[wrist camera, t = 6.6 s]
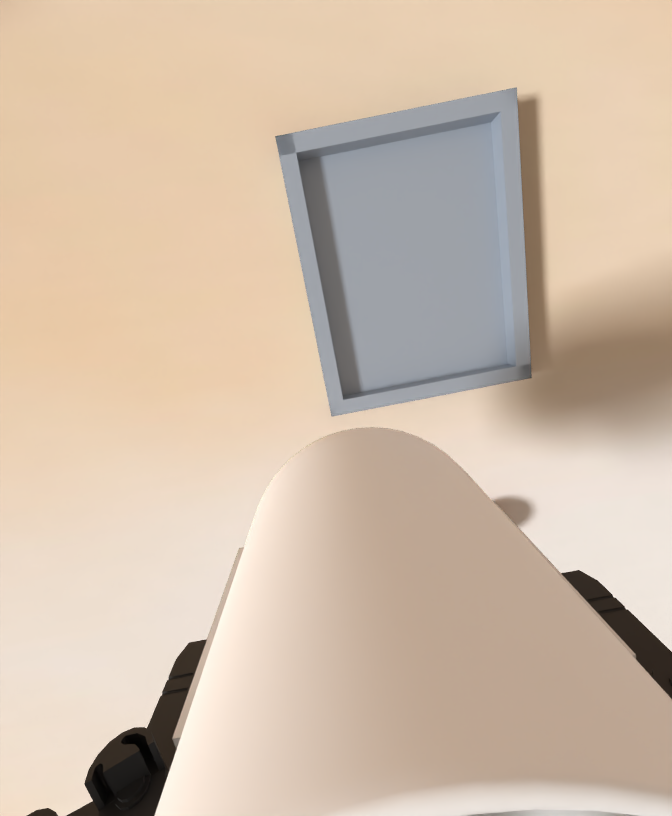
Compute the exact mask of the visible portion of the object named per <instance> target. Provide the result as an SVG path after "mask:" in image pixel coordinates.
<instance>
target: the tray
mask: <svg viewBox="0 0 672 816" xmlns="http://www.w3.org/2000/svg"><path fill="white" fill-rule="evenodd" d="M275 137H276V142H277V147H278V152H279V157H280V162H281V167H282V172H283V177H284V182H285V187H286V192H287V197H288V202H289V207H290V212H291V217H292V222H293V227H294V232H295V237H296V242H297V247H298V252H299V257H300V262H301V267H302V271H303V276H304V281H305V286H306V291H307V296H308V301H309V306H310V311H311V316H312V321H313V326H314V331H315V336H316V341H317V346H318V351H319V356H320V361H321V366H322V371H323V376H324V381H325V386H326V391H327V396H328V401H329V406H330V411H331V416H337V415H342V414H347V413H352V412H358V411H363V410H368V409H373V408H378V407H384V406H389V405H394V404H399V403H404V402H409V401H415V400H420V399H425V398H430V397H435V396H440V395H446V394H451V393H456V392H461V391H466V390H471V389H477V388H482V387H487V386H492V385H497V384H502V383H508V382H513V381H518V380H523V379H528V378H532V377H531V357H530V338H529V318H528V298H527V279H526V259H525V240H524V220H523V201H522V181H521V162H520V142H519V123H518V103H517V88H512V89H507V90H502V91H497V92H492V93H487V94H482V95H477V96H472V97H467V98H462V99H458V100H453V101H448V102H443V103H438V104H433V105H428V106H423V107H418V108H413V109H408V110H403V111H398V112H393V113H388V114H384V115H379V116H374V117H369V118H364V119H359V120H354V121H349V122H344V123H339V124H334V125H329V126H324V127H319V128H314V129H310V130H305V131H300V132H295V133H290V134H285V135H280V136H275Z"/></svg>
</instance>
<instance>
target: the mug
mask: <svg viewBox="0 0 672 816" xmlns="http://www.w3.org/2000/svg"><path fill="white" fill-rule="evenodd" d="M155 816H672V699H671V698H670V697H669V696H668V694H667V693H666V692H665V691H664V690H663V689H662V688H661V687H660V686H659V685H658V683H657V682H656V681H655V680H654V679H653V678H652V677H651V676H650V675H649V673H648V672H647V671H646V670H645V669H644V668H643V667H642V666H641V665H640V664H639V662H638V661H637V660H636V659H635V658H634V657H633V656H632V655H631V654H630V653H629V651H628V650H627V649H626V648H625V647H624V646H623V645H622V644H621V643H620V641H619V640H618V639H617V638H616V637H615V636H614V635H613V634H612V633H611V632H610V630H609V629H608V628H607V627H606V626H605V625H604V624H603V623H602V622H601V621H600V619H599V618H598V617H597V616H596V615H595V614H594V613H593V612H592V611H591V609H590V608H589V607H588V606H587V605H586V604H585V603H584V602H583V601H582V600H581V598H580V597H579V596H578V595H577V594H576V593H575V592H574V591H573V590H572V589H571V587H570V586H569V585H568V584H567V583H566V582H565V581H564V580H563V579H562V577H561V576H560V575H559V574H558V573H557V572H556V571H555V570H554V569H553V568H552V566H551V565H550V564H549V563H548V562H547V561H546V560H545V559H544V558H543V556H542V555H541V554H540V553H539V552H538V551H537V550H536V549H535V548H534V547H533V545H532V544H531V543H530V542H529V541H528V540H527V539H526V538H525V537H524V536H523V534H522V533H521V532H520V531H519V530H518V529H517V528H516V527H515V526H514V524H513V523H512V522H511V521H510V520H509V519H508V518H507V517H506V516H505V515H504V513H503V512H502V511H501V510H500V509H499V508H498V507H497V506H496V505H495V504H494V502H493V501H492V500H491V499H490V498H489V497H488V496H487V495H486V494H485V492H484V491H483V490H482V489H481V488H480V487H479V486H478V485H477V484H476V483H475V481H474V480H473V479H472V478H471V477H470V476H469V475H468V474H467V473H466V472H465V471H464V470H463V469H462V468H461V467H460V466H459V465H458V464H457V463H456V462H455V461H454V460H453V459H452V458H451V457H450V456H448V455H447V454H446V453H445V452H443V451H442V450H440V449H439V448H438V447H436V446H435V445H433V444H431V443H429V442H427V441H425V440H423V439H421V438H419V437H417V436H415V435H412V434H409V433H406V432H403V431H398V430H393V429H388V428H375V427H370V428H355V429H350V430H344V431H340V432H337V433H334V434H331V435H328V436H325V437H323V438H321V439H319V440H317V441H314V442H313V443H311V444H309V445H308V446H306V447H305V448H303V449H301V450H300V451H299V452H298V453H296V454H295V455H294V456H293V457H291V458H290V459H289V460H288V461H287V462H286V464H285V465H284V466H283V467H282V468H281V469H280V470H279V471H278V472H277V474H276V475H275V476H274V478H273V479H272V481H271V482H270V483H269V485H268V487H267V489H266V491H265V493H264V495H263V496H262V499H261V501H260V503H259V505H258V508H257V511H256V514H255V517H254V520H253V522H252V525H251V528H250V531H249V534H248V537H247V540H246V543H245V546H244V549H243V552H242V555H241V558H240V561H239V564H238V567H237V570H236V573H235V576H234V579H233V582H232V585H231V588H230V591H229V594H228V597H227V600H226V603H225V606H224V609H223V612H222V615H221V618H220V621H219V624H218V627H217V630H216V633H215V636H214V639H213V642H212V645H211V648H210V651H209V654H208V657H207V660H206V663H205V666H204V669H203V672H202V675H201V678H200V681H199V684H198V687H197V690H196V693H195V696H194V699H193V702H192V705H191V708H190V711H189V714H188V717H187V720H186V723H185V726H184V729H183V732H182V735H181V738H180V741H179V744H178V747H177V750H176V753H175V756H174V759H173V762H172V765H171V768H170V771H169V774H168V777H167V780H166V783H165V786H164V789H163V792H162V795H161V798H160V801H159V804H158V807H157V810H156V813H155Z"/></svg>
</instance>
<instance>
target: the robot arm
mask: <svg viewBox="0 0 672 816" xmlns="http://www.w3.org/2000/svg"><path fill="white" fill-rule="evenodd" d="M493 502H494V501H493ZM494 504H495V505H496V506H497V507H498V508H499V509H500V510H501V511H502V512H503V513H504V515H505V516H506V517H507V518H508V519H509V520H510V521H511V522H512V523H513V524H514V526H515V527H516V528H517V529H518V530H519V531H520V532H521V533H522V534H523V536H524V537H525V538H526V539H527V540H528V541H529V542H530V543H531V544H532V545H533V547H534V548H535V549H536V550H537V551H538V552H539V553H540V554H541V555H542V556H543V558H544V559H545V560H546V561H547V562H548V563H549V564H550V565H551V566H552V568H553V569H554V570H555V571H556V572H557V573H558V574H559V575H560V576H561V577H562V579H563V580H564V581H565V582H566V583H567V584H568V585H569V586H570V587H571V589H572V590H573V591H574V592H575V593H576V594H577V595H578V596H579V597H580V598H581V600H582V601H583V602H584V603H585V604H586V605H587V606H588V607H589V608H590V609H591V611H592V612H593V613H594V614H595V615H596V616H597V617H598V618H599V619H600V621H601V622H602V623H603V624H604V625H605V626H606V627H607V628H608V629H609V630H610V632H611V633H612V634H613V635H614V636H615V637H616V638H617V639H618V640H619V641H620V643H621V644H622V645H623V646H624V647H625V648H626V649H627V650H628V651H629V653H630V654H631V655H632V656H633V657H634V658H635V659H636V660H637V661H638V662H639V664H640V665H641V666H642V667H643V668H644V669H645V670H646V671H647V672H648V673H649V675H650V676H651V677H652V678H653V679H654V680H655V681H656V682H657V683H658V685H659V686H660V687H661V688H662V689H663V690H664V691H665V692H666V693H667V694H668V696H669V697H670V698H671V699H672V652H671V651H670V650H669V649H668V648H667V647H666V646H665V645H664V644H663V643H662V642H661V641H660V640H659V639H658V638H657V637H656V636H655V635H653V634H652V633H651V632H650V631H649V630H648V629H647V628H646V627H645V626H644V625H643V624H642V623H641V622H640V621H639V620H638V619H637V618H636V617H635V616H634V615H633V614H632V613H631V612H630V611H629V610H626V609H625V607H624V606H623V605H622V604H621V603H620V602H619V601H618V600H617V599H616V598H614V597H613V595H612V594H611V593H610V592H609V591H608V590H607V589H606V588H605V587H604V586H603V585H602V584H601V583H600V582H599V581H597V580H595V579H594V578H592V577H590V576H588V575H587V574H585V573H583V572H581V571H580V570H577V571H572V572H566V573H560V572H559V571H558V570H557V569H556V568H555V567H554V565H553V564H552V563H551V562H550V561H549V560H548V559H547V558H546V557H545V556H544V555H543V554H542V552H541V551H540V550H539V549H538V548H537V547H536V546H535V545H534V544H533V543H532V542H531V541H530V539H529V538H528V537H527V536H526V535H525V534H524V533H523V532H522V531H521V530H520V529H519V528H518V526H517V525H516V524H515V523H514V522H513V521H512V520H511V519H510V518H509V517H508V516H507V515H506V513H505V512H504V511H503V510H502V509H501V508H500V507H499V506H498V505H497V504H496V503H495V502H494ZM243 549H244V547H243V548H239V550H238V553H237V556H236V558H235V561H234V564H233V567H232V570H231V573H230V576H229V578H228V581H227V584H226V587H225V590H224V593H223V595H222V598H221V601H220V604H219V607H218V610H217V613H216V615H215V618H214V621H213V624H212V627H211V630H210V632H209V635H208V638H207V639H206V640H201V641H196V642H190V643H188V645H187V646H186V647H185V649H184V650H183V651H182V652H181V654H180V655H179V656H178V657H177V659H176V661H175V663H174V666H173V668H172V670H171V673H170V675H169V680H168V681H167V682H166V685H165V687H164V689H163V692H162V693H163V694H162V696H160V699H159V701H158V704H157V706H156V708H155V711H154V713H153V715H152V718H151V720H150V723H149V725H148V727H147V729H146V728H145V727H139V728H132V729H130V730H127V731H125V732H123V733H121V734H120V735H118V736H117V737H116V738H114V739H113V740H112V741H110V742H109V743H108V744H107V745H106V747H105V748H104V749H103V750H102V751H101V752H100V753H99V754H98V756H97V757H96V759H95V760H94V762H93V764H92V765H91V767H90V769H89V771H88V774H87V777H86V780H85V783H84V784H85V786H86V788H87V790H88V792H89V794H90V796H91V798H92V799H93V801H92V802H91V803H89V804H87V805H85V806H83V807H81V808H80V809H78V810H76V811H74V812H72V813H70V814H69V815H67V816H155V813H156V810H157V807H158V804H159V801H160V798H161V795H162V792H163V789H164V786H165V783H166V780H167V777H168V774H169V771H170V768H171V765H172V762H173V759H174V756H175V753H176V750H177V747H178V744H179V741H180V738H181V735H182V732H183V729H184V726H185V723H186V720H187V717H188V714H189V711H190V708H191V705H192V702H193V699H194V696H195V693H196V690H197V687H198V684H199V681H200V678H201V675H202V672H203V669H204V666H205V663H206V660H207V657H208V654H209V651H210V648H211V645H212V642H213V639H214V636H215V633H216V630H217V627H218V624H219V621H220V618H221V615H222V612H223V609H224V606H225V603H226V600H227V597H228V594H229V591H230V588H231V585H232V582H233V579H234V576H235V573H236V570H237V567H238V564H239V561H240V558H241V555H242V552H243ZM27 816H58V815H57V813H56V812H55V811H53V810H51V809H49V808H46V809H41V810H36V811H34V812H33V813H31V814H29V815H27Z"/></svg>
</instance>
